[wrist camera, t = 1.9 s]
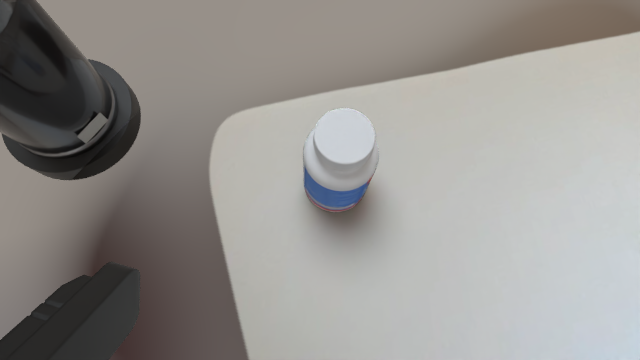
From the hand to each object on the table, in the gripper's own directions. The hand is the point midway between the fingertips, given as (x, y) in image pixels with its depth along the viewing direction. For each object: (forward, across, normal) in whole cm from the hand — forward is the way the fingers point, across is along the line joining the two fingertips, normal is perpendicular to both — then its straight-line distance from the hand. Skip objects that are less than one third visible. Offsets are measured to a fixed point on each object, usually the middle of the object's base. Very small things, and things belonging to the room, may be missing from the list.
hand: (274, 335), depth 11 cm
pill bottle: (+24, 0, +7) cm, 25 cm away
